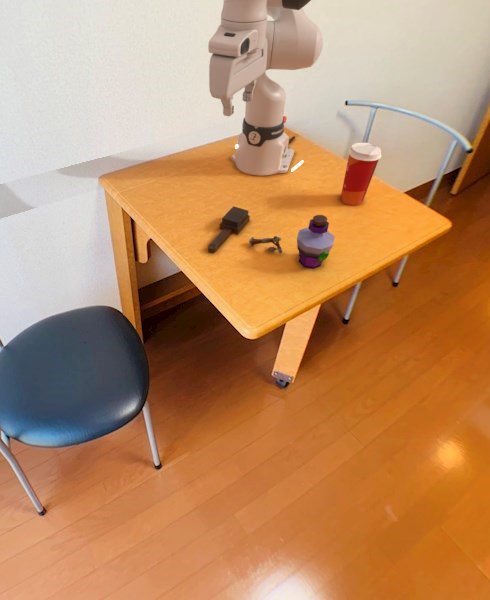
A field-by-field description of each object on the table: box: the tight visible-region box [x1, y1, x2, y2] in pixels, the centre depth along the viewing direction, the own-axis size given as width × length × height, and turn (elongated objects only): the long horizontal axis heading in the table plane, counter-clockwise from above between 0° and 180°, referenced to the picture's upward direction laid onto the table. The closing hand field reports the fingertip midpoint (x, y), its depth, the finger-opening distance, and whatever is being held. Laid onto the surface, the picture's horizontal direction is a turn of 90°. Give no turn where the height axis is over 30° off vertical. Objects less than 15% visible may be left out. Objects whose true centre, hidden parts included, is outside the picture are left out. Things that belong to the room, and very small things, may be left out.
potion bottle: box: [296, 214, 336, 270], centre depth 97 cm, size 9×9×12 cm
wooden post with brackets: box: [248, 235, 283, 254], centre depth 104 cm, size 2×8×4 cm, turn 60°
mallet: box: [207, 206, 251, 254], centre depth 108 cm, size 17×5×3 cm, turn 150°
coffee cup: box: [340, 142, 382, 206], centre depth 116 cm, size 8×8×15 cm
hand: (238, 107), depth 94 cm, fingers open, 8 cm apart
